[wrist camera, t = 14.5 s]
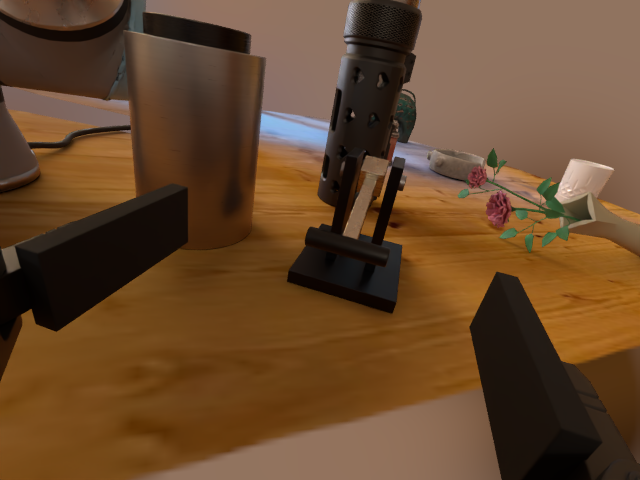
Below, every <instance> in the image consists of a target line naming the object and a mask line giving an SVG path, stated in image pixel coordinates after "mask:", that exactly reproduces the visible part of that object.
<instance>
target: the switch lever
mask: <svg viewBox="0 0 640 480" xmlns="http://www.w3.org/2000/svg"><path fill="white" fill-rule="evenodd" d="M388 164H389V160H385V159H380V158H376V157H372V156H366V158H365V160H364V163H363V165H362V167H361V170H360V174H359V179H358V184H357V189H356V192H359V195H358V197H357V200H356V202H355V205H354V207H353V210H352V212H351V215H350V217H349V220H348V223H347V225H346V228H345V230H344V233H343V235H340V234H337V233H333V232H329V231H326V230H322V229H318V228H315V227H310V228H309V229H308V231H307V234H306V238H305V245H306V246H310V247H313V248H317V249H320V250H324V251H327V252H331V253H335V254H338V255H342V256H345V257H349V258H352V259H356V260H359V261H363V262H366V263H370V264H373V265H377V266H380V267H386V264H387V261H388V257H389V254H390V248H388V247H384V246H380V245H377V244H373V243H369V242H366V241H362V240H358V238H359V235H360V232H361V229H362V226H363V223H364V220H365V217H366V214H367V211H368V208H369V205H370V202H371V199H372V196H375V197H379V196H380V193H381V190H382V186H383V183H384V180H385V176H386V172H387V168H388Z"/></svg>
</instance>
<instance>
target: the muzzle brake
mask: <svg viewBox="0 0 640 480" xmlns="http://www.w3.org/2000/svg"><path fill="white" fill-rule="evenodd" d="M420 3H421V0H351V2H350V3H349V6H348V12H347V18H346V24H345V29H344V38H345V41H344V42H345V43H346V44H347V45H348V46H347V52H346V54H344V55H343V56H342V59H341V65H340V70H339V76H338V82H337V88H336V94H335V99H334V105H333V110H332V116H331V122H330V127H329V132H328V138H327V144H326V149H325V156H324V161H323V167H322V173H321V178H320V183H319V189H318V196H319V197H320V199H321V200H323V201H324V202H326V203H328V204H330V205H333V206H336V203H337V199H338V194H339V189H340V184H341V179H342V176H340V170H341V166H342V163H343V162H345V160H346V156H347V155H348V154H349V153H350V152H351V151H352V150H353V149H354V148H355V147H356V148H360V149H364V150H365V151H366V152H365V151H364V155H363V159H362V164H361V167H362V165H363V163H364V160H365V158H366V156H372V157H376V158H380V159H385V160H387V158H388V154H389V150H390V146H391V143H390V140H391V136H392V132H393V130H394V129H395V127H396V126H395V125H394V124H393V121H394V118H395V114H396V110H397V106H398V102H399V98H400V94H401V90H402V86H403V84H404V83H407V82H409V81H410V77H411V74H412V70H413V66H414V62H415V59H416V56H415V55H414V54H413V53H411V51H412V50H414V47H415V43H416V39H417V35H418V32H419V28H420V24H421V20H422V14H421V11H420V10H419V7H420ZM352 110H353V112H354V114H355V116H354V117H351V113H352ZM373 115H374V117H375V119H374V120H373V121H372V119H371V117H372V116H373ZM344 147H345V148H344ZM360 170H361V168H360ZM359 174H360V172H359ZM358 179H359V177H358ZM357 184H358V181H357ZM356 189H357V185H356ZM335 190H338V191H335ZM358 195H359V192H356V190H355V194H354V198H353V203H352V207H351V210H353V207H354V205H355V202H356V200H357V197H358ZM376 199H377V197H375V196H372V199H371V202H370V205H369V207H370V206H371V205H372V202H373V201H374V200H376Z"/></svg>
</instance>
